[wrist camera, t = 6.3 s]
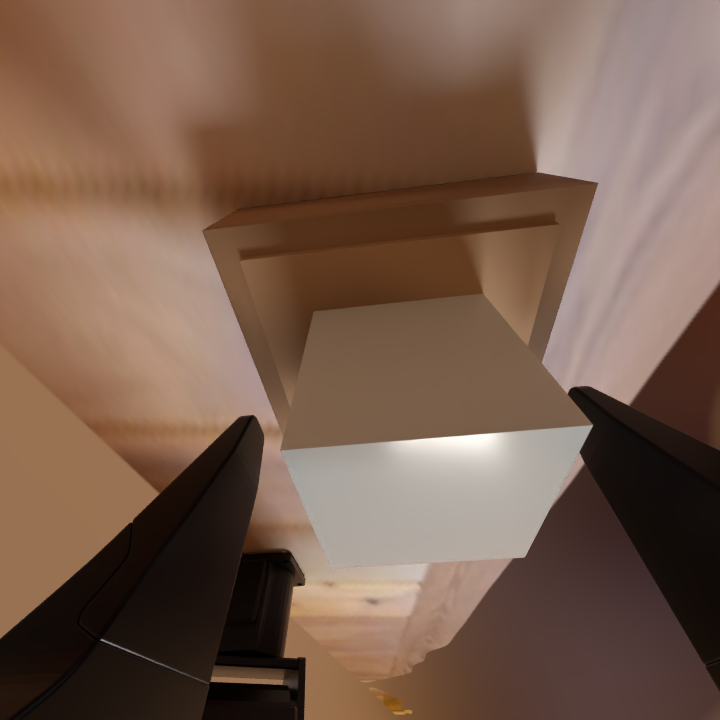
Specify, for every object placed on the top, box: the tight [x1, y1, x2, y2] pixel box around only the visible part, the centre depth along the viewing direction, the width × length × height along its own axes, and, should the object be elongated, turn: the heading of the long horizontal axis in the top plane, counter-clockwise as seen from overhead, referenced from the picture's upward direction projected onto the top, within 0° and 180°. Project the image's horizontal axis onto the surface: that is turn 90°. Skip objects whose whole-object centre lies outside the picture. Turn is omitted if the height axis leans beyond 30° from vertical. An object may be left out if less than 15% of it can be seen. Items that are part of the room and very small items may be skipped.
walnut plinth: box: [202, 172, 598, 437], centre depth 12 cm, size 10×10×3 cm
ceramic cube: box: [280, 294, 593, 569], centre depth 8 cm, size 5×5×5 cm
